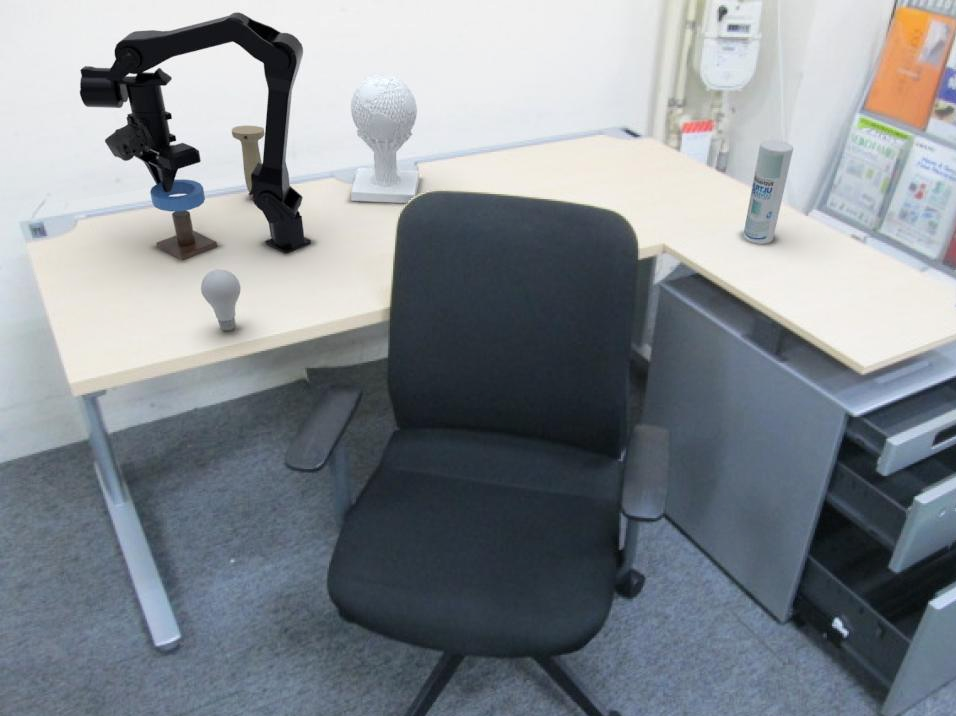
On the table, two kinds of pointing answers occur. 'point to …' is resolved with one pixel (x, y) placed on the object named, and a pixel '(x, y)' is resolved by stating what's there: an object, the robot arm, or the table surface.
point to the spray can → (767, 190)
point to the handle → (249, 149)
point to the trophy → (384, 139)
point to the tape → (178, 203)
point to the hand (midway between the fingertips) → (165, 190)
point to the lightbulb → (222, 296)
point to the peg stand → (185, 238)
